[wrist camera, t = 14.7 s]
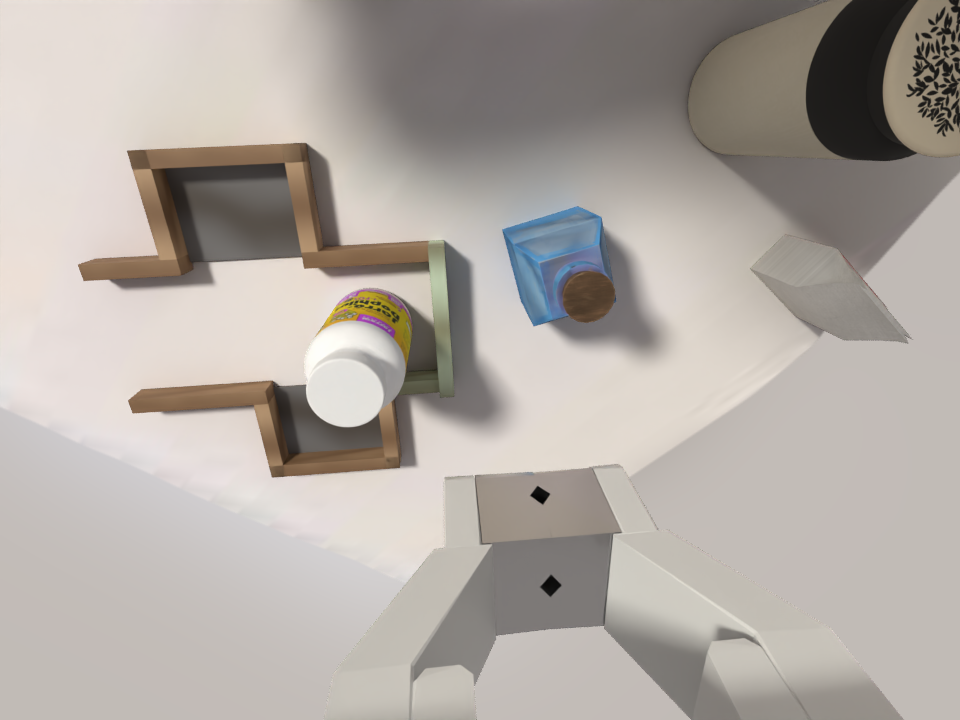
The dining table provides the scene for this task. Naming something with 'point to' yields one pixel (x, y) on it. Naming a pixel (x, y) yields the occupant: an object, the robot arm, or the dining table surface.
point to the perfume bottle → (562, 266)
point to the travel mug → (836, 84)
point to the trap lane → (268, 234)
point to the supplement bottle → (358, 357)
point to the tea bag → (826, 291)
